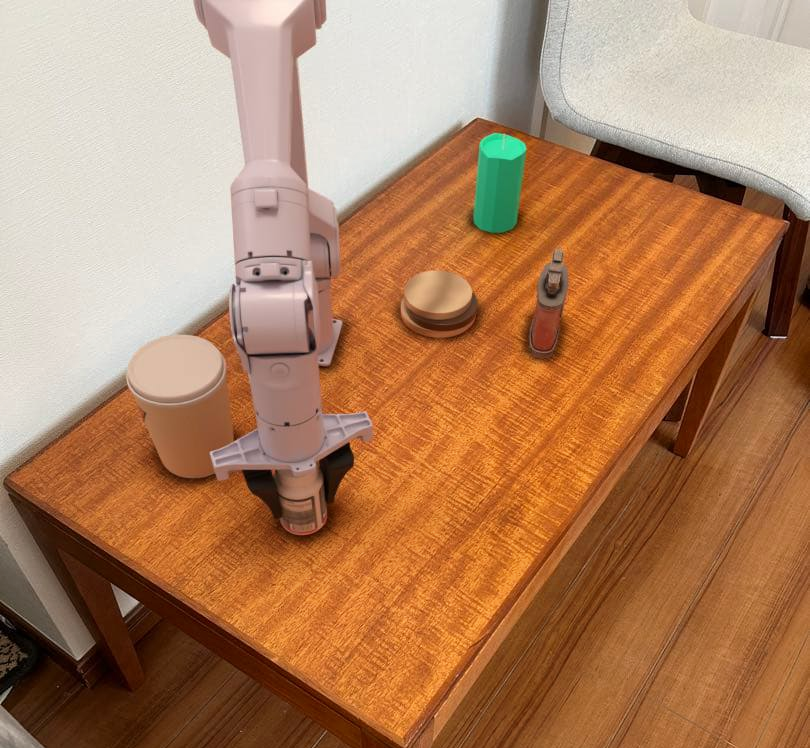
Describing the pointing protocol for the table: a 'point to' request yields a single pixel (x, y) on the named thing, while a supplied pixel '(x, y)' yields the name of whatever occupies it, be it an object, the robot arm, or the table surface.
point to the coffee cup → (183, 401)
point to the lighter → (549, 306)
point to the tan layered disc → (438, 304)
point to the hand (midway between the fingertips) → (301, 503)
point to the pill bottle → (301, 501)
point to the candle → (499, 182)
